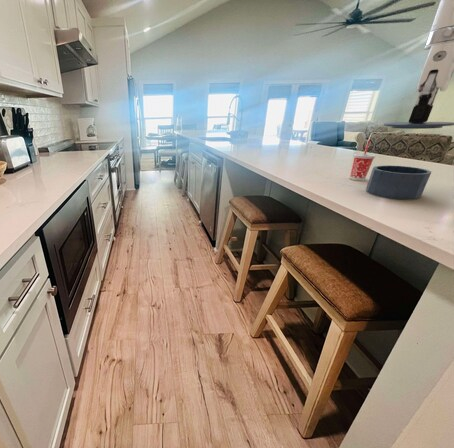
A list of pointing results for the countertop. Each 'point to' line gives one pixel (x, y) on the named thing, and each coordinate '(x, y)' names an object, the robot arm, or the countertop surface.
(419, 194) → the pot
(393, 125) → the pot lid
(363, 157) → the beverage cup
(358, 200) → the countertop surface
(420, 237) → the countertop surface
